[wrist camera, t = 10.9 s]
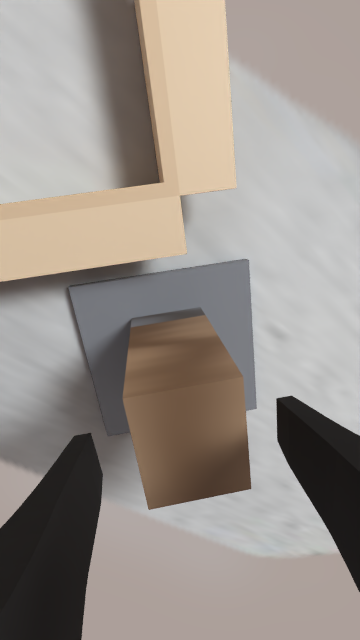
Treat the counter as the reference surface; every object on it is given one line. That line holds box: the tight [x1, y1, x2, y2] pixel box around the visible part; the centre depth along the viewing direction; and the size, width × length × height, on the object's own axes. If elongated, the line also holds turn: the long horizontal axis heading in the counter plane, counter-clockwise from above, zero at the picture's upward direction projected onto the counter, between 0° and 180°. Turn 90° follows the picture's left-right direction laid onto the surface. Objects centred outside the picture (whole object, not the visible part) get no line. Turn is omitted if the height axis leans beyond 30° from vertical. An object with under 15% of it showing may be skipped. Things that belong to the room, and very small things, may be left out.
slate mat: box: [69, 259, 257, 436], centre depth 19 cm, size 10×10×1 cm
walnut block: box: [123, 307, 251, 510], centre depth 14 cm, size 4×5×8 cm
